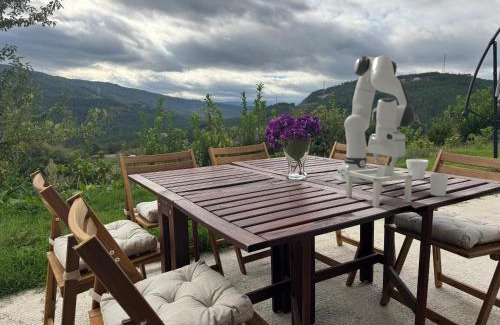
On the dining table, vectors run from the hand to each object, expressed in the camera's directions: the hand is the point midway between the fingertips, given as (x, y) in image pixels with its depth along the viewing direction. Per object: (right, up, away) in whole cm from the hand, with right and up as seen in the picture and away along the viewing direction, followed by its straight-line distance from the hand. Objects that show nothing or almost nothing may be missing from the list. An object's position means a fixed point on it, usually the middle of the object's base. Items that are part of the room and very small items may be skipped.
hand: (384, 165), depth 170 cm
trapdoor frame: (-1, -16, +6) cm, 17 cm away
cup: (+40, -9, +58) cm, 71 cm away
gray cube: (0, -5, +1) cm, 6 cm away
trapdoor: (-2, -8, +5) cm, 9 cm away
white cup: (+32, -15, +15) cm, 38 cm away
